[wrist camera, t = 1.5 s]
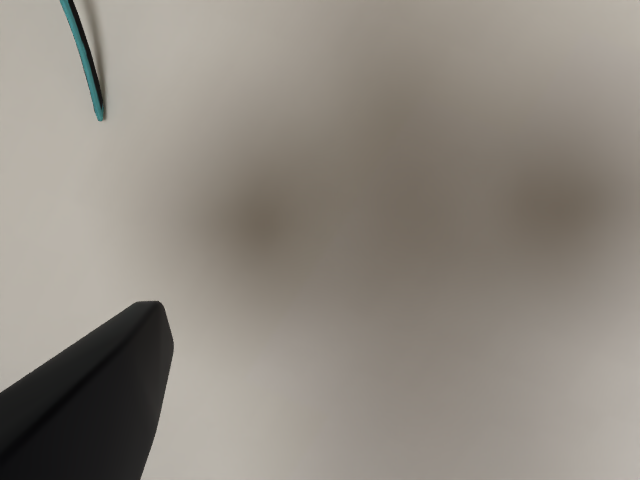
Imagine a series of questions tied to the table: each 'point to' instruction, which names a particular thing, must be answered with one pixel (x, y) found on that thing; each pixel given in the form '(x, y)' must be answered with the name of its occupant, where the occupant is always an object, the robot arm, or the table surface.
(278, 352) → the table surface
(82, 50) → the sunglasses
